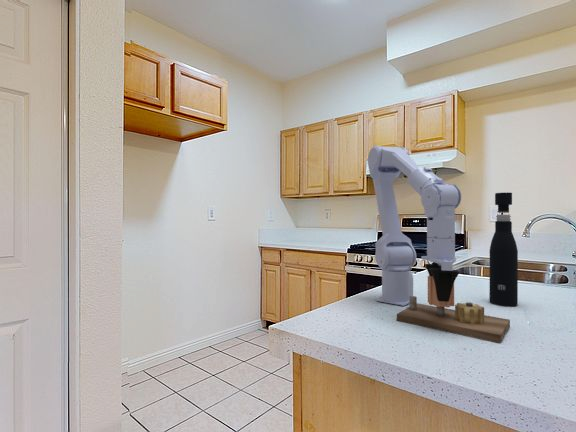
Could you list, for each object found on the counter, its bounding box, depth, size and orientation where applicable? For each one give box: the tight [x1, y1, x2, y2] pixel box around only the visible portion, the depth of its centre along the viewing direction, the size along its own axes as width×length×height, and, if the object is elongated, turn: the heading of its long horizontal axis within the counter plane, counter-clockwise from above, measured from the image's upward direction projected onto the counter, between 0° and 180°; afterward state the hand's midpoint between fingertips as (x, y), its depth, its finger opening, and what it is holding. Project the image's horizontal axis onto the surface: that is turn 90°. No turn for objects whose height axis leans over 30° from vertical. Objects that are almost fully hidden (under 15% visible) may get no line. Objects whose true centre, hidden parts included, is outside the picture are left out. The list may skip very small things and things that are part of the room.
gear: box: [427, 275, 455, 308], centre depth 73 cm, size 5×5×6 cm
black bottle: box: [488, 192, 519, 308], centre depth 88 cm, size 6×6×30 cm
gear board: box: [396, 295, 511, 344], centre depth 72 cm, size 12×20×5 cm, turn 49°
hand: (440, 297), depth 73 cm, fingers closed on gear, 5 cm apart
